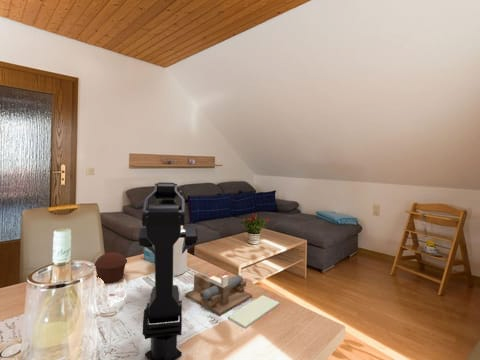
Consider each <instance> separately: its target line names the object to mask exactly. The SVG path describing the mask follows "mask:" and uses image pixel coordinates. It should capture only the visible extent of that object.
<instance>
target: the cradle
mask: <svg viewBox="0 0 480 360" xmlns="http://www.w3.org/2000/svg"><path fill="white" fill-rule="evenodd" d="M193 276H194V277H193V289H191V290H190V291H188V292H185V293H184V294H185V295H184V296H185V297H186V298H188V299H189V300H191V301H193V302H194V303H196V304H197V305H200V306H201V307H202V308H205V309H206V310H207V311H209V312H211V313H212V314H215V315H217V316H218V317H221V316H223V315H225V314H227V313H228V312H229V311H231V310H233V309H234V308H237V307H238V306H240V305H241V304H243V303H245V302H246V301H248V300H250V299H252V298H253V294H251V293H250V292H247V291H245V287H247V281H245V280H243V282H241V283H240V284H239V285H237V286H235V287H233V288H231V289H229V287H228V286H226V287H224V288H221V294H219V295H215V296H213V297H211V299H209V300H206V299H205V298H204V297H203V292H204V291H205V290H206V289H208V288H210V287H212V286H215V285H216V284H214V283H212V282H209V278H210V277H209V276H207V275H205V274H202V273H200V272H199V273H196V274H194V275H193ZM230 278H231V277H228V279H230Z"/></svg>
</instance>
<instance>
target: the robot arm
mask: <svg viewBox="0 0 480 360" xmlns="http://www.w3.org/2000/svg"><path fill="white" fill-rule="evenodd" d="M153 189H154V190H153V191H151V193H150V194H148V196H147V197H145V199H144V202H143V208H142V215H141V221H142V222H141V223H142V224H141V225H142V228H140V229H139V232H138V234H139V236H138V239H137V241H138V246H139V247H143V248H144V247H147V248H148V249H149V250H151V251H152V252H153V254H154V255H155V263H154V285H155V286H153V287H152V289H151V292H150V298H149V302H148V303H146V306H145V308H144V309H143V318H142V335H143V337H144V340H148V339H150V350H149V351H147V352H145V354H144V356H145V358H147V360H176V359H178V358H180V357H181V356H182V355H183V354H182V351H181V350H179V348H178V347H177V346H178V336H182V335H183V334H182V330H183V328H182V327H183V325H182V320H183V318H182V315H183V303H182V302H183V300H180V290H179V286H178V284H174V276H173V246H174V244H175V243H176V241H177V240H178V239H179V238H184V241H183V246H182V254H183V253H184V252H185V250H186V249H187V250H188V249H189V247H190V246H194V245H196V244H198V243H199V241H198V240H199V239H198V237H199V235H198V228H197V226H188V227H185V231H181V226H183V227H184V226H185V219H186V218H185V205H186V204H185V198H184V197H183V191H182V189H180V186H179V185H178V184H177V183H175V182H161V181H160V182H157V183H154V188H153Z"/></svg>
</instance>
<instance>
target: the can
mask: <svg viewBox="0 0 480 360" xmlns="http://www.w3.org/2000/svg"><path fill="white" fill-rule="evenodd" d="M181 231H186V229H185V228H184V226H181ZM183 241H184V238H179V239H178V240H177V241H176V243H175V244H174V246H173V277H178V276H181V275H183V274H185V272H187V270H188V269H187V267H188V248H187V249H186V250H185V252H184V253H183V254H182V246H183Z"/></svg>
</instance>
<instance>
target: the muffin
mask: <svg viewBox="0 0 480 360" xmlns="http://www.w3.org/2000/svg"><path fill="white" fill-rule="evenodd" d="M127 263H128V259H127V258H126V256H125V255H123V254H121V253H120V252H114V251H113V252H112V251H111V252H106V253H103V254H102V255H100V256H99V257H98V258H97V259H96V261H95V263H94V267H95V266H96V267H95V271H96V276H97V277H96V278H98V277H99V278H101V279H102V280H103V281H104V283H105V284H107V285H110V284H114V283H119V282H120V281H121V280H123V279H124V274H125V268H126V264H127ZM105 284H104V285H105Z"/></svg>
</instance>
